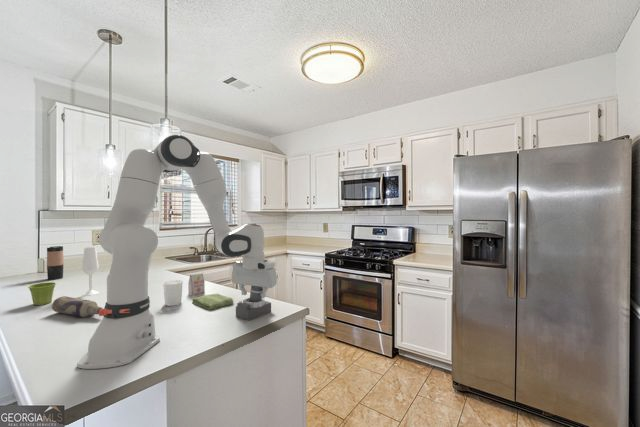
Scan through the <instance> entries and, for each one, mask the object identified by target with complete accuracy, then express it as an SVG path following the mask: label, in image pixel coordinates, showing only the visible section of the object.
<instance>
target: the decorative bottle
mask: <svg viewBox="0 0 640 427" xmlns="http://www.w3.org/2000/svg"><path fill="white" fill-rule="evenodd" d="M51 303H52V304H51V308H52V309H51V310H52V311H54V312H56V313H61V314H66V315H71V316H74V317H76V318H77V317H78V318H87V317H91V316H93V315H98V313H99V310H100V309H104V307H101V306H98V303H97V302H96V301H93V300H89V299H83V298H76V297H71V296H66V295H65V296H64V295H63V296H59V297H57V298H56V299H54V301H52V302H51Z"/></svg>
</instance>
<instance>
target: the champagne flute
mask: <svg viewBox="0 0 640 427" xmlns="http://www.w3.org/2000/svg"><path fill="white" fill-rule="evenodd" d="M99 268H100V267H99V259H98V252H97V246H85V247H84V248H83V258H82V266H81V270H82V272H83V273H84V274H86V275H87V276H88V280H89V281H88V286H89V289H88V290H87V291H86V292H84V293H82V296H84V297H85V296H94V295H97V294H100V292H99V291H96V290H93V275H94V274H95V273H96V272H98V270H99Z"/></svg>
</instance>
